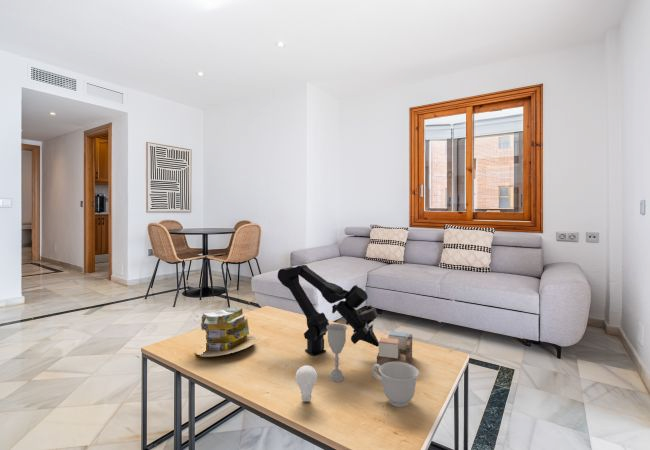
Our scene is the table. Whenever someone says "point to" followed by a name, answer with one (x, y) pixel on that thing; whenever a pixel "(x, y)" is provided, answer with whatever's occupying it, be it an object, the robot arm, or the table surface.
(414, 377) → the teacup
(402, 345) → the slate key
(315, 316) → the robot arm
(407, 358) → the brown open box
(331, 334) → the chalice
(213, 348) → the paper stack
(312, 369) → the light bulb
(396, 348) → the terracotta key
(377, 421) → the table surface
